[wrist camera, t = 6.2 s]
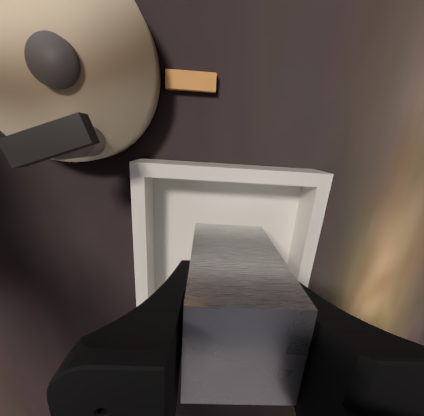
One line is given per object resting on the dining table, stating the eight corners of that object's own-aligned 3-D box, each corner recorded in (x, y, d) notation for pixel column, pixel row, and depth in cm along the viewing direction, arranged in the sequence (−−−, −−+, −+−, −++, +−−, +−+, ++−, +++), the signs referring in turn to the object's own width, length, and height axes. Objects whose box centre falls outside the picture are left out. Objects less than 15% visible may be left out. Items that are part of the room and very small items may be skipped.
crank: (-58, -2, 11) (-263, -114, 6) (119, -70, 11) (43, -252, 6) (39, 178, 14) (-50, 198, 9) (183, 133, 14) (170, 129, 9)
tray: (146, 302, 18) (137, 327, 15) (142, 158, 14) (129, 161, 12) (285, 307, 18) (297, 332, 16) (313, 168, 15) (333, 174, 12)
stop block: (193, 280, 14) (180, 403, 7) (195, 222, 13) (183, 306, 6) (253, 283, 14) (295, 405, 8) (261, 226, 13) (318, 310, 6)
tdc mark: (166, 89, 13) (165, 88, 13) (166, 70, 13) (165, 68, 12) (215, 93, 13) (215, 91, 13) (216, 74, 13) (216, 72, 13)
